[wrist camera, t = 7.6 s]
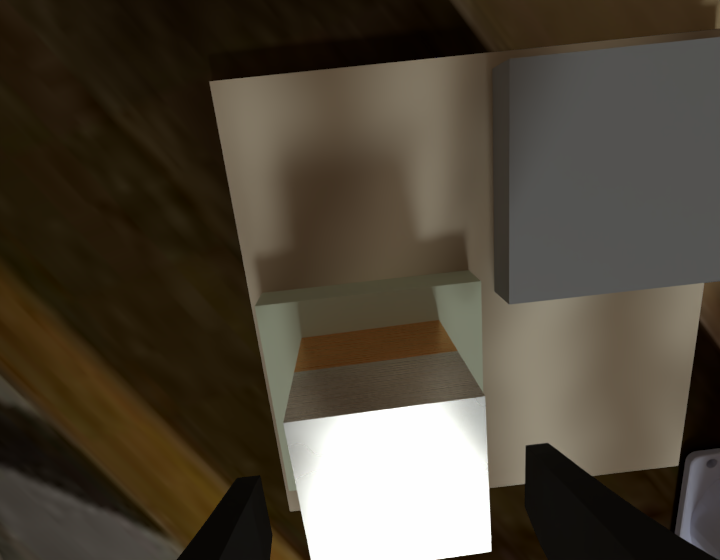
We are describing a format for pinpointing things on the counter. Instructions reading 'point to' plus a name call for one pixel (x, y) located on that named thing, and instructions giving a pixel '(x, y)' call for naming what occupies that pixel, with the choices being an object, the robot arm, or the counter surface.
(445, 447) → the block
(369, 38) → the counter surface
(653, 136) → the stand
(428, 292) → the stand
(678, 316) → the board
